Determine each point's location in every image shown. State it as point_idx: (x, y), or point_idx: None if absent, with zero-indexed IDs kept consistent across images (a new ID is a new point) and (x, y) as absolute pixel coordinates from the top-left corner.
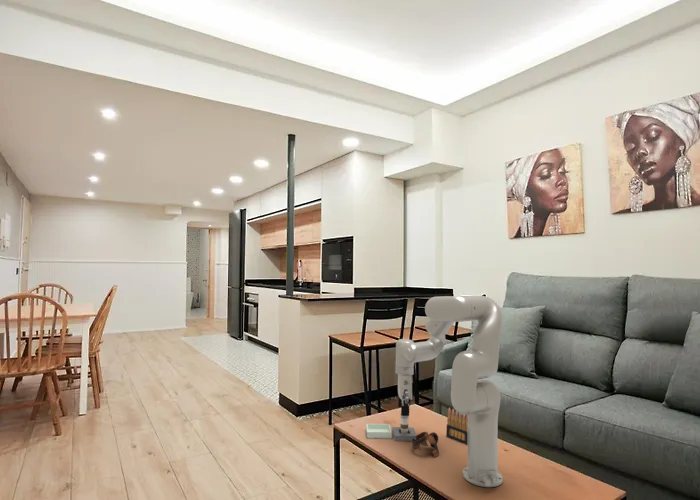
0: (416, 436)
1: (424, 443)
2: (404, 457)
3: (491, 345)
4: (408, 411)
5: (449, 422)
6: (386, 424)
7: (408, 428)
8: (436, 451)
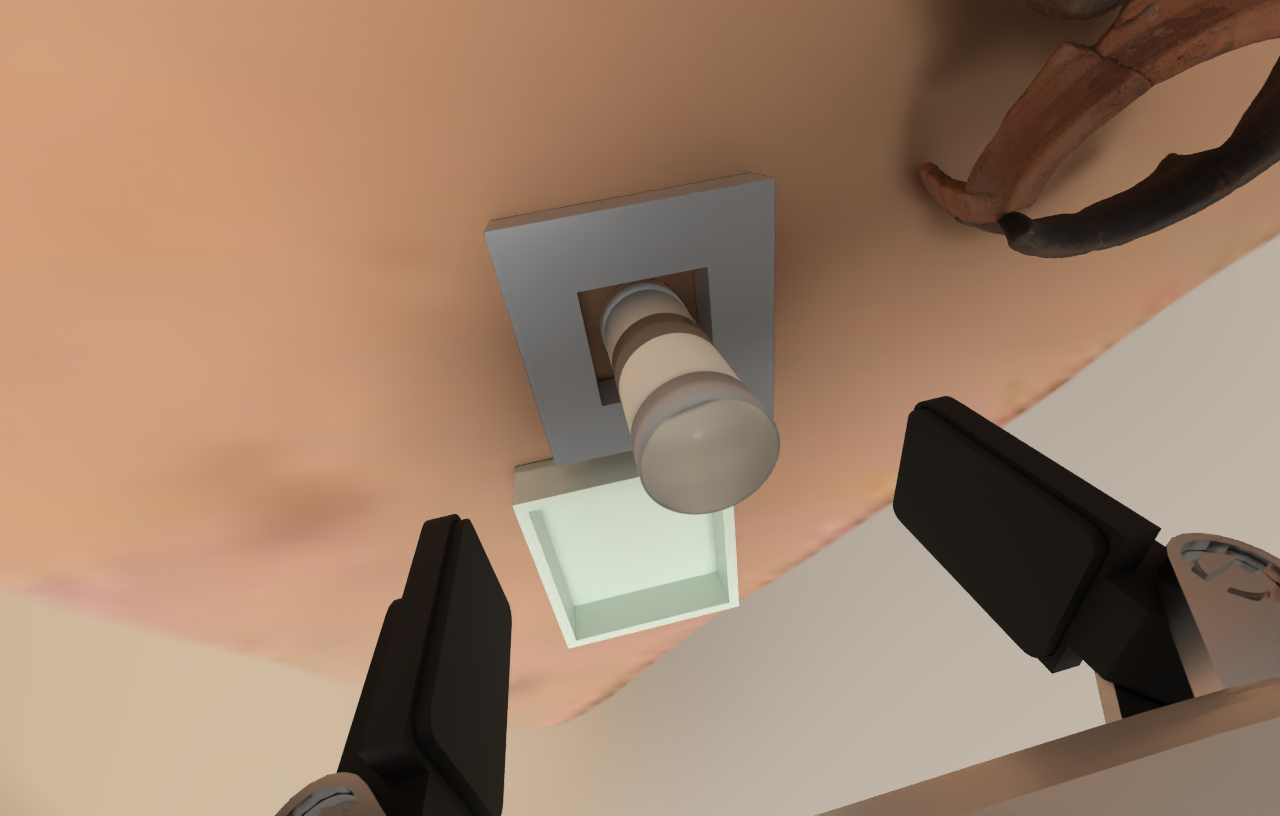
0: (1035, 196)
1: None
2: (1065, 287)
3: None
4: (1010, 452)
5: None
6: (532, 527)
7: (544, 300)
8: None
